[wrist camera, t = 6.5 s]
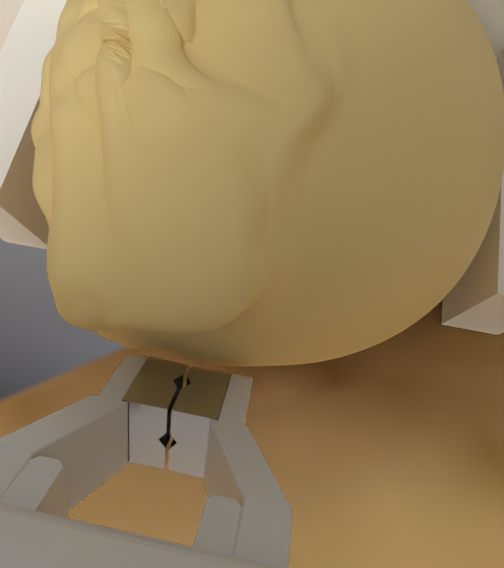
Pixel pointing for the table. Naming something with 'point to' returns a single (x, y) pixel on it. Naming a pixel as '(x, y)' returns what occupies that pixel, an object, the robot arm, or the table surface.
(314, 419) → the table surface
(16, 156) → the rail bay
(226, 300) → the sculpture
